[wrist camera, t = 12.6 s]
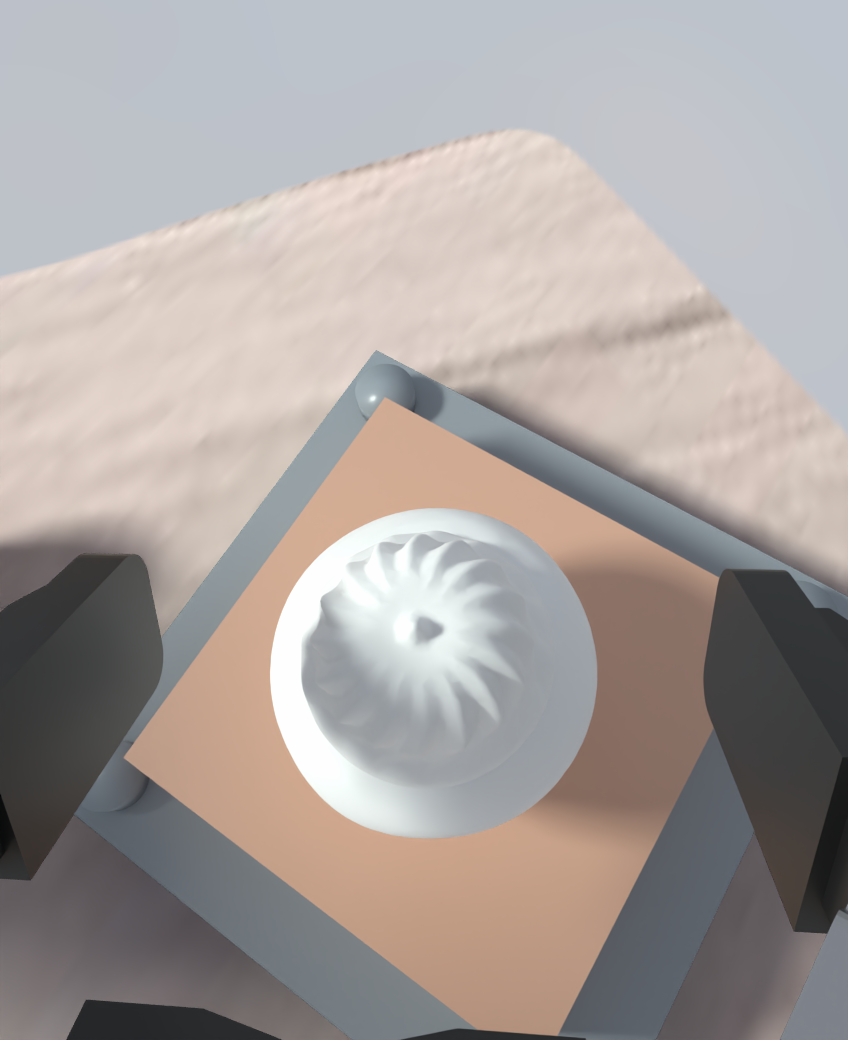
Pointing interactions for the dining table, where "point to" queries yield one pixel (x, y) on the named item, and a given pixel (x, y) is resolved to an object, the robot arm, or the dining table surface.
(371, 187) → the dining table surface
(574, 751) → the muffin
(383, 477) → the grey pegged tray
